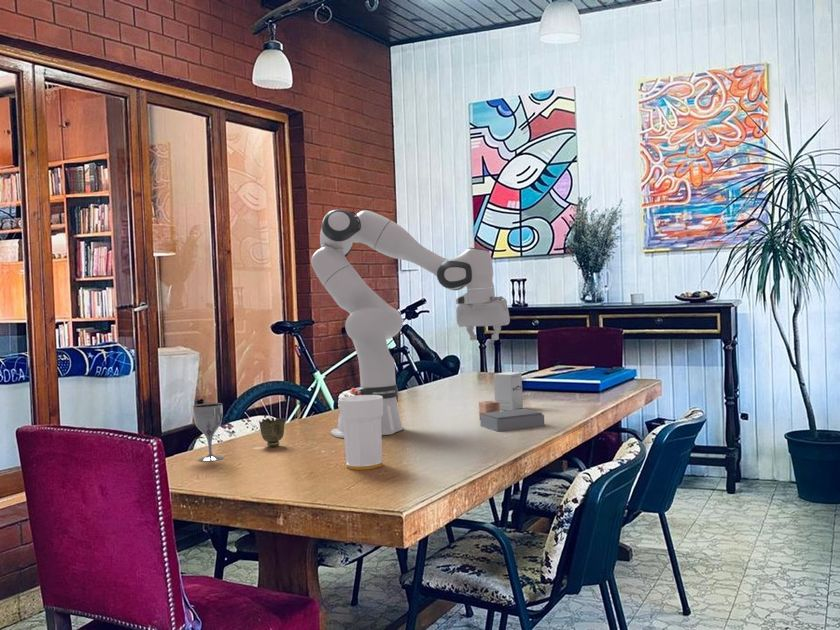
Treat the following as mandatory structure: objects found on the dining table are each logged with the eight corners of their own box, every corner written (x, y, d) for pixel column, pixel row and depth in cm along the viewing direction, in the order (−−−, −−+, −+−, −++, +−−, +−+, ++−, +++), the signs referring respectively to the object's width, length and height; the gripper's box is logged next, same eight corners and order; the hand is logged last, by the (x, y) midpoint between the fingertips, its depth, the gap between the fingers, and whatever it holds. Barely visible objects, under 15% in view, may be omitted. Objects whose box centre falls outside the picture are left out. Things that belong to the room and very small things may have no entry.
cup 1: (278, 449, 247) (276, 421, 247) (255, 448, 250) (254, 421, 250) (290, 444, 254) (289, 417, 254) (268, 443, 257) (267, 417, 257)
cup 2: (391, 467, 214) (387, 398, 214) (347, 472, 211) (343, 402, 211) (380, 459, 225) (377, 393, 225) (338, 464, 222) (334, 397, 221)
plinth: (497, 431, 258) (496, 418, 258) (480, 425, 269) (479, 413, 269) (544, 425, 263) (543, 412, 263) (526, 420, 275) (525, 408, 275)
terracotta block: (486, 422, 276) (485, 403, 276) (479, 420, 280) (478, 402, 280) (500, 420, 278) (499, 402, 277) (493, 418, 282) (492, 400, 282)
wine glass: (200, 456, 242) (197, 403, 242) (228, 455, 242) (225, 402, 241) (192, 462, 234) (188, 407, 234) (221, 461, 234) (217, 406, 233)
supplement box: (512, 411, 296) (511, 374, 296) (494, 410, 301) (492, 374, 300) (523, 407, 302) (522, 372, 302) (505, 406, 307) (503, 371, 306)
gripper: (512, 295, 273) (515, 338, 273) (465, 298, 288) (468, 339, 288) (499, 296, 269) (502, 340, 269) (452, 299, 283) (455, 341, 284)
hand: (484, 340), depth 279 cm, fingers open, 8 cm apart
